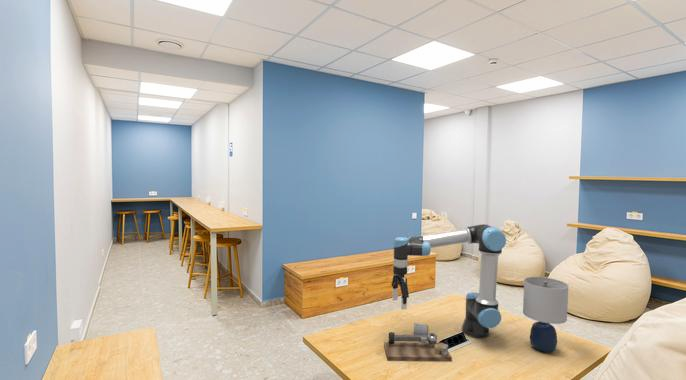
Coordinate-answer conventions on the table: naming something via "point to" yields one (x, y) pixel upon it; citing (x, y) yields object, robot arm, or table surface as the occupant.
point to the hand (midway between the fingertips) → (399, 304)
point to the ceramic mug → (420, 329)
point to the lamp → (545, 309)
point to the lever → (412, 338)
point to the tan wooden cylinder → (438, 348)
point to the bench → (415, 352)
